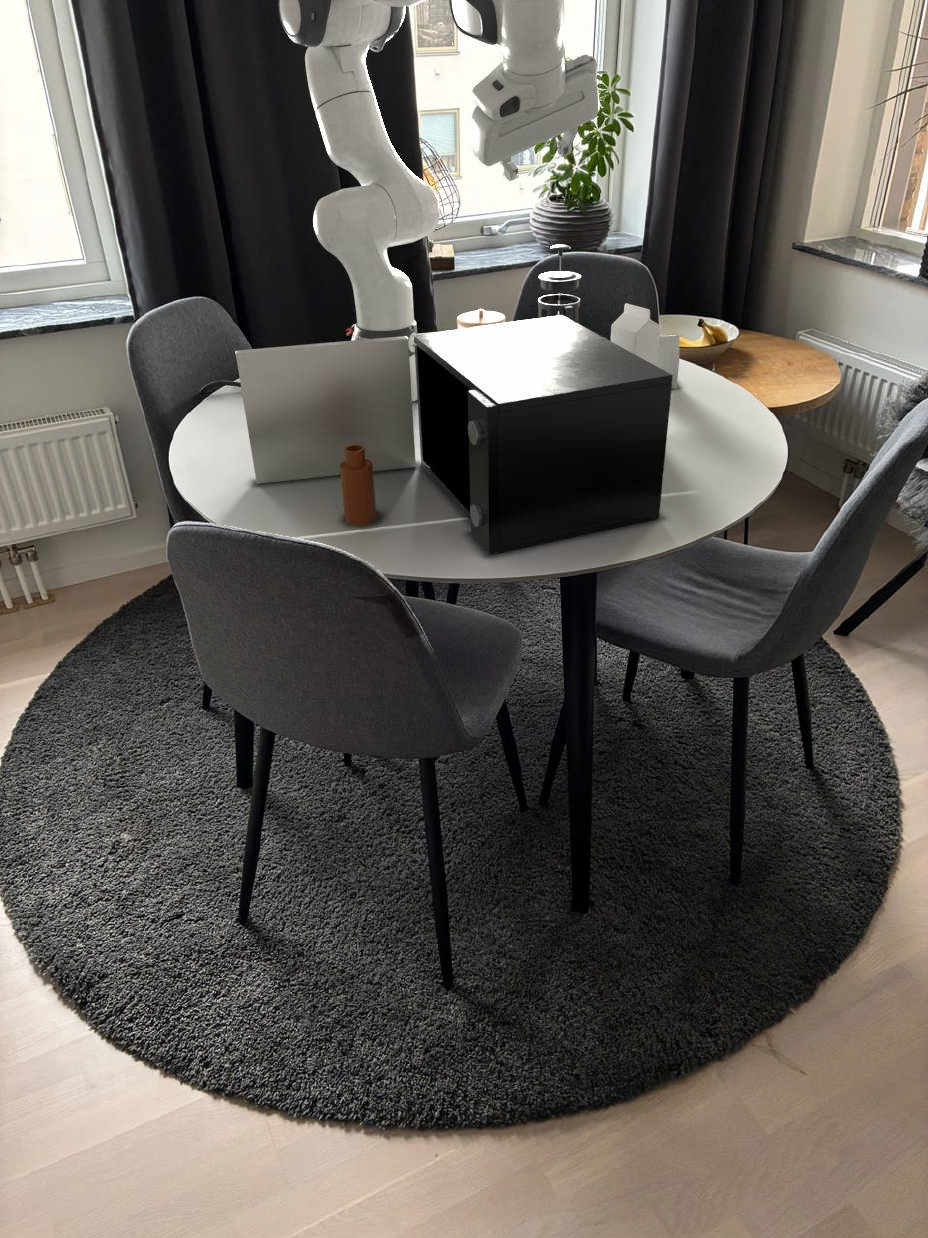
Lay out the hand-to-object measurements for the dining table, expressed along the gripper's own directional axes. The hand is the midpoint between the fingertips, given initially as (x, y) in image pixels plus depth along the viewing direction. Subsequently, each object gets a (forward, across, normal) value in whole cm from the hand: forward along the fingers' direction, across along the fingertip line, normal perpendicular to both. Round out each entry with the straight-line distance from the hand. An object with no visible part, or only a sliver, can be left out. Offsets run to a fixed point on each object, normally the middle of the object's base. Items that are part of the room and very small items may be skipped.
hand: (538, 165), depth 145 cm
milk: (+42, -3, +23) cm, 48 cm away
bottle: (+22, +50, +29) cm, 61 cm away
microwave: (+28, +24, +34) cm, 50 cm away
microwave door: (+30, +48, +10) cm, 57 cm away
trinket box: (+62, +1, -28) cm, 68 cm away
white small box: (+53, -20, +9) cm, 58 cm away
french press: (+62, -12, -17) cm, 65 cm away
